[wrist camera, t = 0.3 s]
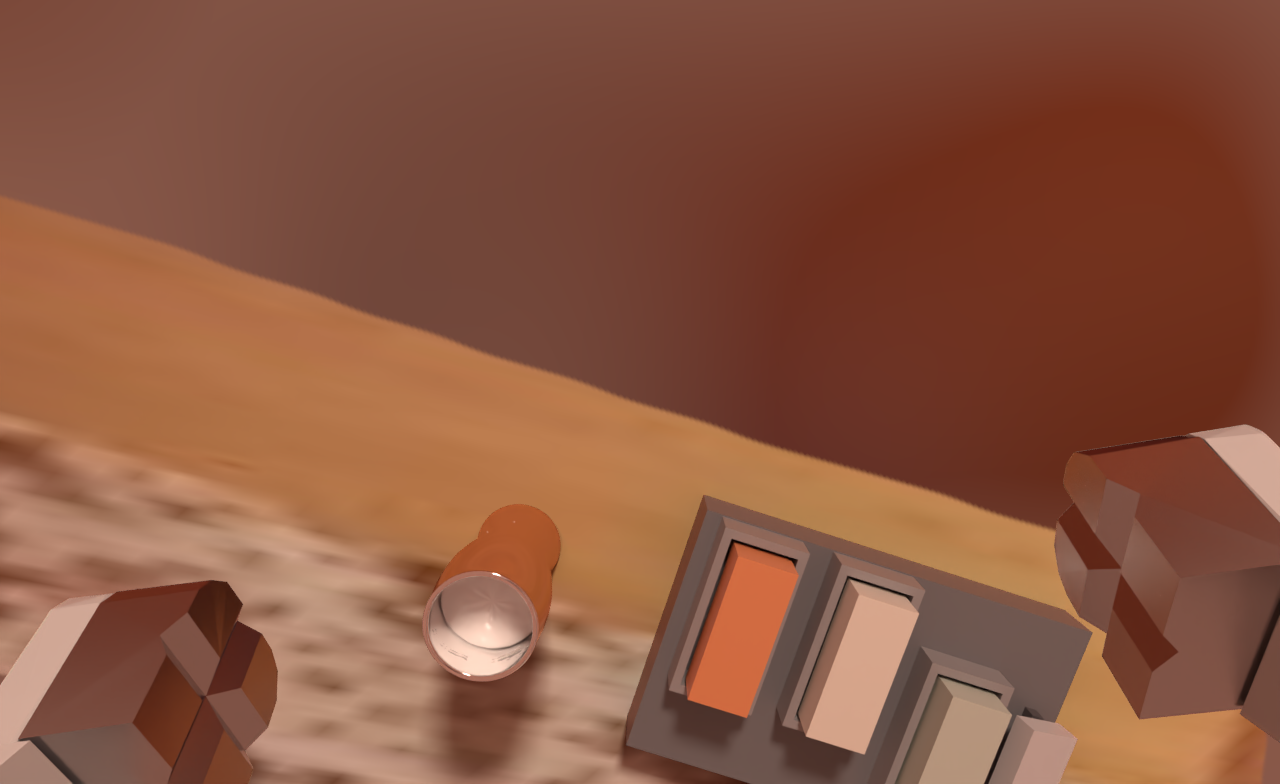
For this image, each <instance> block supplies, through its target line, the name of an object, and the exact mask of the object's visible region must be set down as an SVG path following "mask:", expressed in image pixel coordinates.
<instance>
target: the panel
mask: <svg viewBox="0 0 1280 784" xmlns="http://www.w3.org/2000/svg"><path fill="white" fill-rule="evenodd" d="M733 542H737V543H740V544H743V545H747V546H750V547H753V548H756V549H759V550H762V551H765V552H769V553H772V554H775V555H778V556H781V557H784V558H787V559H791V561H792V563H793V565H794V567H795V569H796V571H797V573H798V575H799V577H798V579H797V582H796V585H795V588H794V590H793V593H792V596H791V599H790V601H789V604H788V607H787V609H786V612H785V615H784V618H783V620H782V623H781V626H780V629H779V631H778V634H777V637H776V640H775V642H774V645H773V648H772V651H771V653H770V656H769V659H768V662H767V664H766V667H765V670H764V672H763V675H762V678H761V681H760V683H759V686H758V689H757V692H756V694H755V697H754V700H753V703H752V705H751V708H750V711H749V714H748V716H747V718H745V717H742V716H739V715H735V714H732V713H729V712H726V711H722V710H719V709H716V708H713V707H710V706H706V705H703V704H700V703H697V702H694V701H690V700H688V699H687V688H686V675H687V672H688V669H689V667H690V664H691V661H692V658H693V655H694V652H695V650H696V647H697V644H698V641H699V638H700V635H701V632H702V630H703V627H704V624H705V621H706V618H707V615H708V613H709V610H710V607H711V604H712V601H713V598H714V596H715V593H716V590H717V587H718V584H719V581H720V579H721V576H722V573H723V570H724V567H725V564H726V561H727V559H728V556H729V553H730V550H731V547H732V544H733ZM848 578H850V579H853V580H857V581H860V582H863V583H866V584H869V585H872V586H875V587H879V588H882V589H885V590H888V591H891V592H894V593H897V594H901V595H904V596H906V598H907V599H908V600H909V601H910V603H911V604H912V605H913V607H914V608H915V609H916V610H917V612H918V613H919V615H918V618H917V621H916V623H915V626H914V628H913V631H912V633H911V636H910V639H909V641H908V644H907V646H906V649H905V651H904V654H903V657H902V659H901V662H900V664H899V667H898V670H897V672H896V675H895V677H894V680H893V682H892V685H891V688H890V690H889V693H888V695H887V698H886V700H885V703H884V706H883V708H882V711H881V713H880V716H879V719H878V721H877V724H876V726H875V729H874V731H873V734H872V737H871V739H870V742H869V744H868V747H867V749H866V752H865V755H864V754H861V753H858V752H854V751H851V750H848V749H845V748H841V747H838V746H835V745H832V744H829V743H825V742H822V741H819V740H816V739H812V738H809V737H806V736H805V733H804V730H803V727H802V724H801V721H800V718H799V715H798V711H799V708H800V705H801V703H802V700H803V697H804V695H805V692H806V689H807V687H808V684H809V681H810V679H811V676H812V673H813V671H814V668H815V665H816V663H817V660H818V657H819V655H820V652H821V649H822V647H823V644H824V641H825V639H826V636H827V633H828V631H829V628H830V625H831V622H832V620H833V617H834V614H835V612H836V609H837V606H838V604H839V601H840V598H841V596H842V593H843V590H844V588H845V585H846V582H847V580H848ZM1091 635H1092V632H1091V631H1090V630H1088V629H1087V628H1086V627H1085V626H1084V625H1082V624H1081V623H1080V622H1079V621H1077V620H1076V619H1075V618H1074V617H1072V616H1071V615H1070V614H1069V613H1067V612H1066V611H1065V610H1062V609H1059V608H1056V607H1053V606H1050V605H1047V604H1043V603H1040V602H1037V601H1034V600H1031V599H1028V598H1025V597H1022V596H1018V595H1015V594H1012V593H1009V592H1006V591H1003V590H1000V589H997V588H993V587H990V586H987V585H984V584H981V583H978V582H975V581H972V580H968V579H965V578H962V577H959V576H956V575H953V574H950V573H947V572H943V571H940V570H937V569H934V568H931V567H928V566H925V565H922V564H918V563H915V562H912V561H909V560H906V559H903V558H900V557H896V556H893V555H890V554H887V553H884V552H881V551H878V550H875V549H871V548H868V547H865V546H862V545H859V544H856V543H853V542H850V541H846V540H843V539H840V538H837V537H834V536H831V535H828V534H825V533H821V532H818V531H815V530H812V529H809V528H806V527H803V526H800V525H796V524H793V523H790V522H787V521H784V520H781V519H778V518H775V517H771V516H768V515H765V514H762V513H759V512H756V511H753V510H750V509H746V508H743V507H740V506H737V505H734V504H731V503H728V502H725V501H721V500H718V499H715V498H712V497H709V496H706V495H703V498H702V501H701V504H700V507H699V510H698V513H697V516H696V519H695V521H694V524H693V527H692V530H691V533H690V536H689V539H688V542H687V545H686V548H685V550H684V553H683V556H682V559H681V562H680V565H679V568H678V571H677V574H676V577H675V579H674V582H673V585H672V588H671V591H670V594H669V597H668V600H667V603H666V606H665V609H664V611H663V614H662V617H661V620H660V623H659V626H658V629H657V632H656V635H655V638H654V640H653V643H652V646H651V649H650V652H649V655H648V658H647V661H646V664H645V667H644V669H643V672H642V675H641V678H640V681H639V684H638V687H637V690H636V693H635V696H634V698H633V701H632V704H631V707H630V710H629V713H628V716H627V734H626V745H627V746H630V747H633V748H636V749H640V750H643V751H646V752H649V753H653V754H656V755H659V756H662V757H665V758H669V759H672V760H675V761H678V762H682V763H685V764H688V765H691V766H695V767H698V768H701V769H704V770H708V771H711V772H714V773H717V774H721V775H724V776H727V777H730V778H734V779H737V780H740V781H743V782H747V783H750V784H895V782H896V779H897V777H898V774H899V772H900V769H901V766H902V764H903V761H904V759H905V756H906V754H907V751H908V749H909V746H910V744H911V741H912V739H913V736H914V734H915V731H916V728H917V726H918V723H919V721H920V718H921V716H922V713H923V711H924V708H925V706H926V703H927V701H928V698H929V696H930V693H931V690H932V688H933V685H934V683H935V680H936V678H937V675H940V676H943V677H946V678H949V679H952V680H955V681H959V682H962V683H965V684H968V685H971V686H974V687H978V688H981V689H984V690H987V691H990V692H994V694H995V695H996V696H997V697H998V699H999V700H1000V701H1001V702H1002V703H1003V705H1004V706H1005V707H1006V708H1007V709H1008V711H1009V712H1010V713H1011V714H1012V717H1011V719H1010V722H1009V724H1008V726H1007V729H1006V731H1005V734H1004V736H1003V739H1002V741H1001V743H1000V746H999V748H998V751H997V753H996V756H995V758H994V760H993V763H992V765H991V768H990V770H989V773H988V775H987V778H986V780H985V782H984V784H989V781H990V779H991V777H992V774H993V772H994V769H995V767H996V764H997V762H998V759H999V757H1000V755H1001V752H1002V750H1003V747H1004V745H1005V742H1006V740H1007V738H1008V735H1009V733H1010V730H1011V728H1012V725H1013V723H1014V721H1015V718H1016V716H1017V715H1019V716H1024V717H1029V718H1034V719H1039V720H1044V721H1049V722H1053V723H1055V721H1056V719H1057V716H1058V714H1059V712H1060V709H1061V707H1062V704H1063V702H1064V700H1065V697H1066V695H1067V693H1068V690H1069V688H1070V685H1071V683H1072V681H1073V678H1074V676H1075V673H1076V671H1077V669H1078V666H1079V664H1080V661H1081V659H1082V657H1083V654H1084V652H1085V650H1086V647H1087V645H1088V642H1089V640H1090V638H1091Z"/></svg>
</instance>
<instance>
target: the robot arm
mask: <svg viewBox="0 0 1280 784" xmlns="http://www.w3.org/2000/svg"><path fill="white" fill-rule="evenodd" d="M1063 486H1064V487H1065V489H1066V490H1067V492H1068V493H1069V495H1070V496H1071V498H1072V500H1073V501H1074V503H1073V504H1072V505H1071V506H1070V507H1069V508H1068V509H1067V510H1066V511H1065V512H1064V513H1063V514H1062V515H1061V516H1060V517H1059V518H1058V519H1057V526H1056V535H1055V544H1054V547H1055V553H1056V559H1057V566H1058V572H1059V575H1060V578H1061V581H1062V583H1063V586H1064V588H1065V591H1066V594H1067V596H1068V598H1069V599H1070V601H1071V603H1072V605H1073V607H1074V608H1075V610H1076V612H1077V614H1078V616H1079V617H1081V618H1082V619H1084V620H1086V621H1087V622H1089V623H1091V624H1092V625H1094V626H1096V627H1097V628H1099V629H1101V630H1102V631H1104V632H1105V633H1107V635H1106V640H1105V644H1104V649H1103V653H1102V657H1103V659H1104V660H1105V662H1106V664H1107V666H1108V667H1109V669H1110V671H1111V672H1112V674H1113V676H1114V677H1115V679H1116V681H1117V683H1118V684H1119V686H1120V688H1121V689H1122V691H1123V693H1124V694H1125V696H1126V698H1127V700H1128V701H1129V703H1130V705H1131V706H1132V708H1133V710H1134V711H1135V713H1136V715H1137V717H1138V718H1139V719H1147V718H1157V717H1167V716H1177V715H1186V714H1196V713H1206V712H1216V711H1225V710H1235V709H1242V710H1241V712H1240V714H1241V715H1242V716H1243V717H1245V718H1246V719H1248V720H1249V721H1250V722H1252V723H1253V724H1255V725H1256V726H1257V727H1259V728H1260V729H1261V730H1263V731H1264V732H1266V733H1267V734H1268V735H1270V736H1272V737H1273V738H1274V739H1275V740H1277V741H1278V742H1280V448H1279V447H1278V446H1277V445H1276V444H1275V443H1274V442H1273V441H1272V440H1271V439H1270V438H1269V437H1268V436H1267V435H1266V434H1265V433H1264V432H1262V431H1261V430H1258V429H1256V428H1254V427H1251V426H1248V425H1240V426H1234V427H1228V428H1222V429H1216V430H1209V431H1204V432H1197V433H1191V434H1188V435H1186V436H1175V437H1168V438H1162V439H1156V440H1149V441H1143V442H1136V443H1130V444H1123V445H1117V446H1111V447H1105V448H1098V449H1091V450H1086V451H1079V452H1074V454H1073V455H1072V457H1071V458H1070V460H1069V461H1068V463H1067V465H1066V471H1065V476H1064V482H1063ZM242 606H243V604H242V602H241V601H240V599H239V598H238V597H237V595H236V594H235V592H234V591H233V590H232V588H231V587H230V585H229V584H228V583H227V582H223V581H215V580H208V581H200V582H192V583H183V584H175V585H167V586H159V587H151V588H143V589H135V590H126V591H118V592H116V593H112V594H103V595H95V596H86V597H77V598H69V599H67V600H66V601H64V602H62V603H61V604H59V605H57V606H56V607H54V608H53V609H51V610H50V612H49V613H48V615H47V616H46V618H45V619H44V621H43V622H42V624H41V625H40V627H39V628H38V630H37V631H36V633H35V634H34V636H33V637H32V639H31V640H30V642H29V643H28V644H27V646H26V647H25V649H24V650H23V652H22V653H21V655H20V656H19V658H18V659H17V661H16V662H15V664H14V665H13V667H12V668H11V670H10V671H9V673H8V674H7V676H6V677H5V679H4V681H3V682H2V683H1V685H0V784H248V783H249V780H250V777H251V774H252V772H253V768H252V765H251V763H250V760H249V758H248V756H247V753H246V751H245V750H246V749H247V748H248V747H249V746H250V745H251V744H252V743H253V742H254V741H255V740H256V739H257V738H258V737H259V736H260V735H261V734H262V733H263V732H264V731H265V730H266V729H267V728H268V726H269V722H270V719H271V716H272V713H273V710H274V707H275V704H276V701H277V675H278V670H277V667H276V663H275V660H274V656H273V653H272V649H271V648H270V646H269V645H268V643H267V641H266V640H265V638H264V636H263V635H262V634H261V633H260V632H258V631H256V630H254V629H252V628H250V627H248V626H246V625H244V624H242V623H241V622H239V621H238V618H239V615H240V612H241V609H242Z"/></svg>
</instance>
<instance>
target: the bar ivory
mask: <svg viewBox="0 0 1280 784" xmlns="http://www.w3.org/2000/svg"><path fill="white" fill-rule="evenodd" d="M918 615H919V613H918V612H917V610H916V609H915V608H914V607H913V605H912V604H911V603H910V601H909V600H908V599H907V598H906V596H904V595H901V594H897V593H894V592H891V591H888V590H885V589H882V588H879V587H875V586H872V585H869V584H866V583H863V582H860V581H857V580H853V579H850V578H848V580H847V582H846V585H845V588H844V590H843V593H842V596H841V598H840V601H839V604H838V606H837V609H836V612H835V614H834V617H833V620H832V622H831V625H830V628H829V631H828V633H827V636H826V639H825V641H824V644H823V647H822V649H821V652H820V655H819V657H818V660H817V663H816V665H815V668H814V671H813V673H812V676H811V679H810V681H809V684H808V687H807V689H806V692H805V695H804V697H803V700H802V703H801V705H800V708H799V711H798V715H799V718H800V721H801V724H802V727H803V730H804V733H805V736H806V737H809V738H812V739H816V740H819V741H822V742H825V743H829V744H832V745H835V746H838V747H841V748H845V749H848V750H851V751H854V752H858V753H861V754H864V755H865V752H866V749H867V747H868V744H869V742H870V739H871V737H872V734H873V731H874V729H875V726H876V724H877V721H878V719H879V716H880V713H881V711H882V708H883V706H884V703H885V700H886V698H887V695H888V693H889V690H890V688H891V685H892V682H893V680H894V677H895V675H896V672H897V670H898V667H899V664H900V662H901V659H902V657H903V654H904V651H905V649H906V646H907V644H908V641H909V639H910V636H911V633H912V631H913V628H914V626H915V623H916V621H917V618H918Z"/></svg>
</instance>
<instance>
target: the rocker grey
mask: <svg viewBox="0 0 1280 784" xmlns="http://www.w3.org/2000/svg"><path fill="white" fill-rule="evenodd" d="M1076 742H1077V738H1076V737H1074V736H1073V735H1072V734H1071V733H1070V732H1068V731H1067V730H1066V729H1065V728H1064V727H1062V726H1061V725H1060V724H1058V723H1053V722H1049V721H1044V720H1039V719H1034V718H1029V717H1024V716H1019V715H1017V716H1016V718H1015V721H1014V723H1013V725H1012V728H1011V730H1010V733H1009V735H1008V738H1007V740H1006V742H1005V745H1004V747H1003V750H1002V752H1001V755H1000V757H999V759H998V762H997V764H996V767H995V769H994V772H993V774H992V777H991V779H990V781H989V784H1059V782H1060V779H1061V777H1062V775H1063V772H1064V770H1065V768H1066V765H1067V763H1068V760H1069V758H1070V756H1071V753H1072V751H1073V749H1074V746H1075V744H1076Z"/></svg>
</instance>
